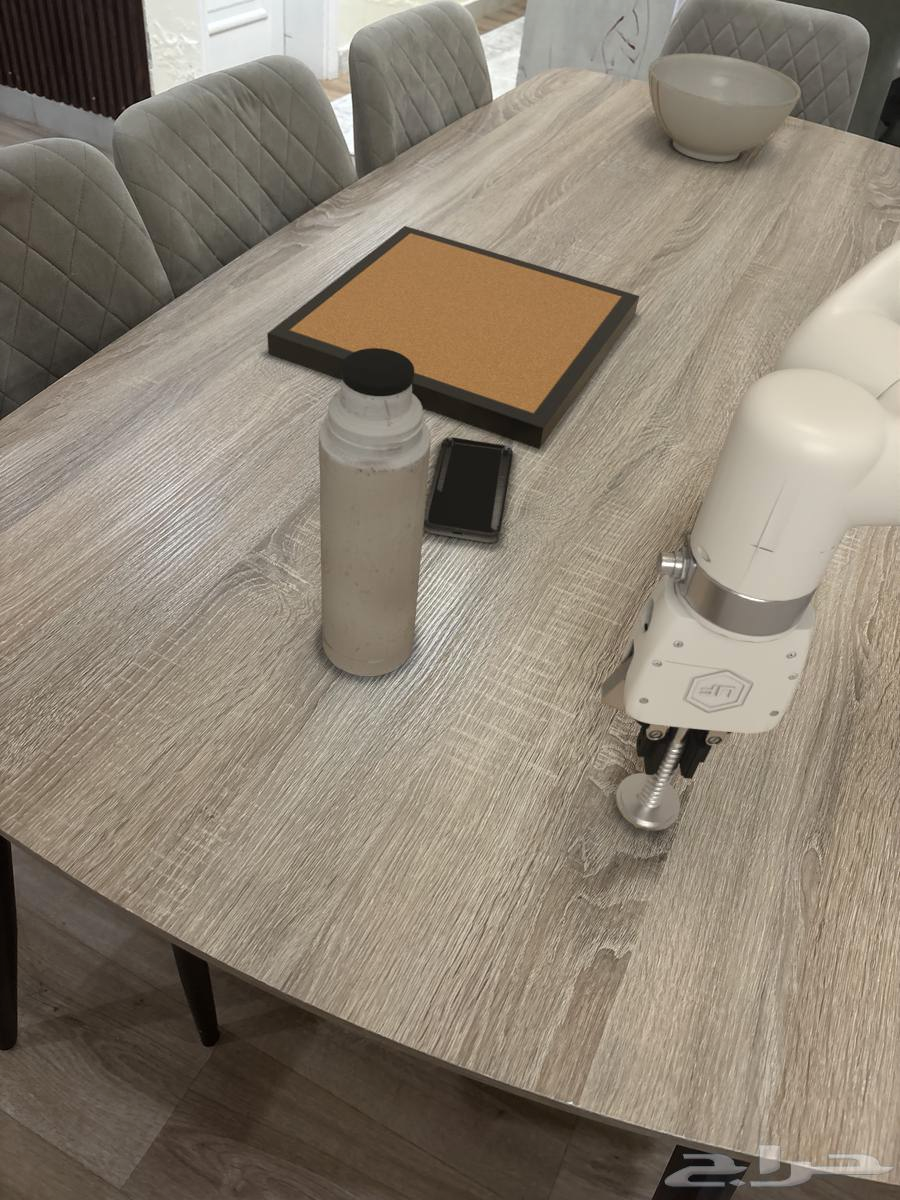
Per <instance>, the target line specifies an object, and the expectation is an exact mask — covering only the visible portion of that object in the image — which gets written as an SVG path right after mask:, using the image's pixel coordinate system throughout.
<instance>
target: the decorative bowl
mask: <svg viewBox="0 0 900 1200" xmlns="http://www.w3.org/2000/svg"><path fill="white" fill-rule="evenodd" d="M648 88H649V89H648V90H649V95H650V101H651V104H652V109H653V111H654V113H655V117H656V118H657V120H658V123H659V124H660V126H661V127H662V129H663V130H664V132H665V133H666V134H667V135H668V136H669V137H670V138H671V139H672V146H673V147H674V149H675V150H677V151H678V152H679V153H681V154H683V155H685V156H687V157H690V158H693V159H695V160H696V159H697V160H701V161H705V162H714V163H715V162H716V163H723V162H724V163H725V162H730V161H733V160H736V159H737V158H738V157H739V156H740V154H741V153H742V152H746V151H748V150H750V149H752V148H754V147H756V146H758V145H759V144H761V143H762V142H764V141H766V140H767V139H768V138H769V137H770V136H772V134H774V133H775V132H776V131H777V130H778V129H779V127H781V126H782V125H783V124H784V122H785V121H786V120H787V118H788V117H789V116H790V114H791V113H792V111H793V110H794V109H795V107H796V105H797V104H798V103H799V100H800V98H801V96H802V90H801V87H800V86H799V84H798V83H797V82H796V81H795V80H793V79H792V78H791V77H789V76H788V75H786V74H784V73H783V72H781V71H778V70H776V69H773V68H771V67H768V66H766V65H763V64H760V63H756V62H754V61H749V60H745V59H741V58H737V57H732V56H726V55H719V54H712V53H698V52H697V53H694V52H693V53H688V52H686V53H685V52H684V53H674V54H667V55H663V56H660V57H658V58H655V59H654V60H653V61H652V62H651V63H650V64H649V67H648Z"/></svg>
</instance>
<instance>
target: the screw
mask: <svg viewBox="0 0 900 1200" xmlns="http://www.w3.org/2000/svg"><path fill="white" fill-rule="evenodd" d="M689 730H690V728H682V727H672V726H668V738H669V746H668V748H667V751H666V753H665V755H664V758H663V760H662V762H661V765H660V767H659V769H658V771H657V774H654V775H646V774H645V772H638V773H634V774H630V775H628V776H626V777H625V778H624V779H622V780H621V782H620V783H619V785H618V787H617V790H616V792H615V802H616V806H617V809H618V810H619V812H620V813H621V815H622V817H623V818H625V820H626V821H627V822H629V823H630V824H632V825H633V826H634V827H635V828H636V829H642V830H646V831H656V832H657V831H661V830H665V829H667V828H669V827H670V826H672V825H673V824H674V823H675V822H676V821H677V819H678V817H679V814H680V812H681V811H680V810H681V800H680V798H679V795H678V793H677V792H676V790H675V788H674V787H673V786H672V785H671V782H672V780H673V777H674V775H675V774H676V771H677V769H678V767H679V762H680V759H681V758H682V755H683V753H684V751H685V749H686V747H687V742H688V732H689Z"/></svg>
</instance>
